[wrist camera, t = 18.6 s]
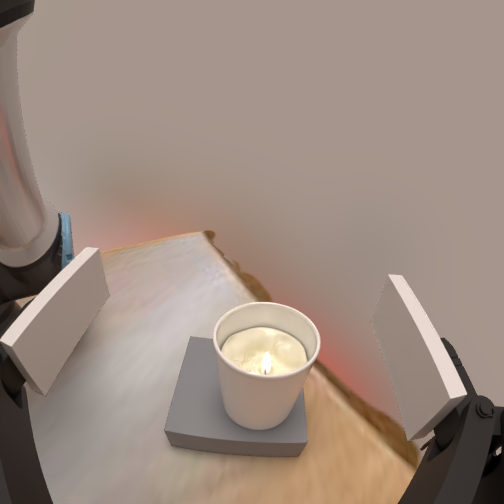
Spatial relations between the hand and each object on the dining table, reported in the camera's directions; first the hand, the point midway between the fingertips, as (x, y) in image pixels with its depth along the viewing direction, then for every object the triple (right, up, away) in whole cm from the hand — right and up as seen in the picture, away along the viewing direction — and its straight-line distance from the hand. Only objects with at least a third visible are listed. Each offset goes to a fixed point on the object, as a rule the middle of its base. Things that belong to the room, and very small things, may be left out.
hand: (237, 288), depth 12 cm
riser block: (-1, -20, +23) cm, 30 cm away
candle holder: (+1, -17, +18) cm, 25 cm away
